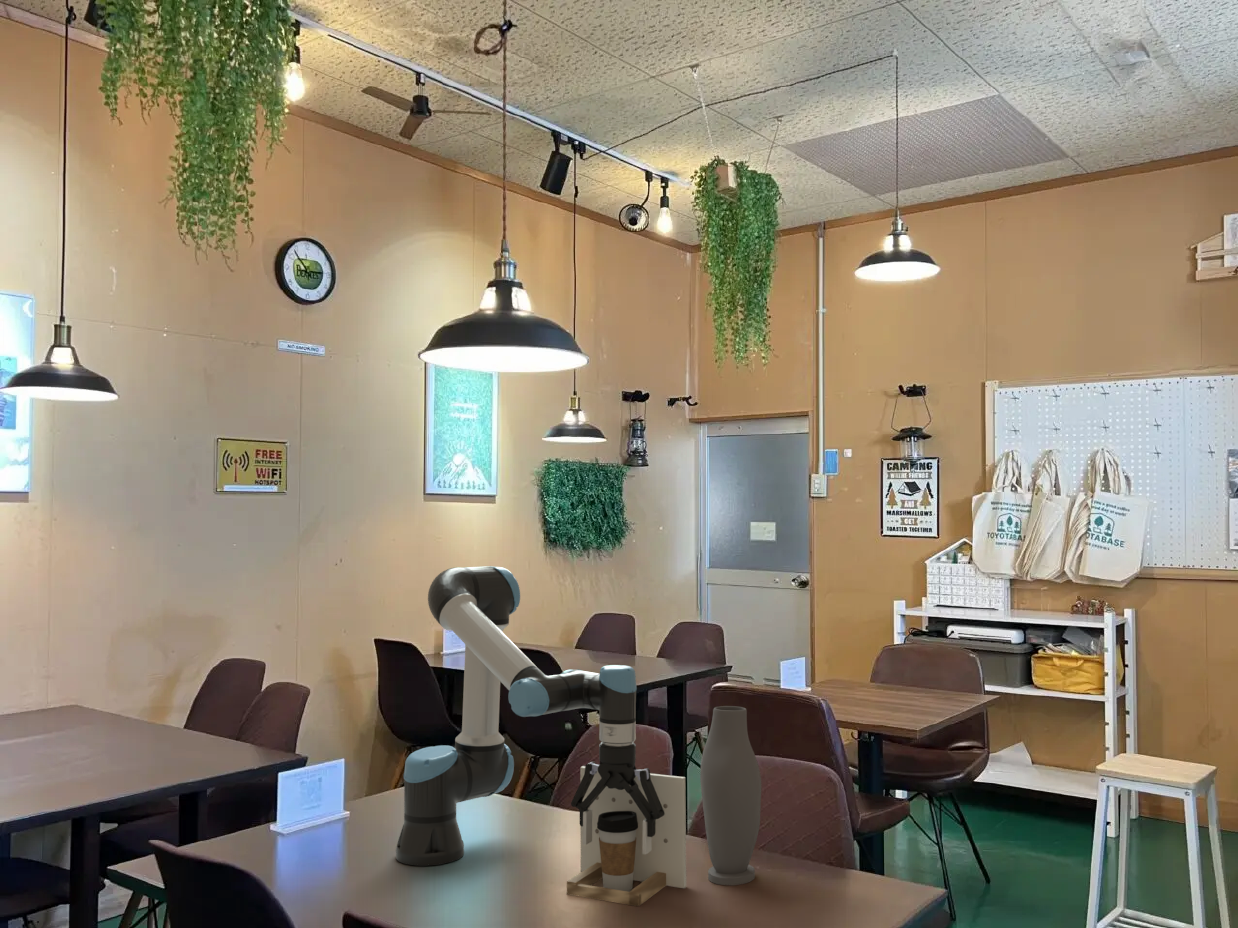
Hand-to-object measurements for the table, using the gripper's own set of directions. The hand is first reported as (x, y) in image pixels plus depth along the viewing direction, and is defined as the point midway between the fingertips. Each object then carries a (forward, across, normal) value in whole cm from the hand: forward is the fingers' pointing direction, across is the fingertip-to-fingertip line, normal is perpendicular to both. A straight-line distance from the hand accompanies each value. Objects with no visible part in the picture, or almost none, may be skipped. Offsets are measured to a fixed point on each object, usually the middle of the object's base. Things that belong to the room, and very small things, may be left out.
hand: (616, 847), depth 209 cm
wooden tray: (+8, 0, -1) cm, 8 cm away
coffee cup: (+8, 0, 0) cm, 8 cm away
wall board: (+8, 0, +6) cm, 10 cm away
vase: (+8, +18, +17) cm, 26 cm away
